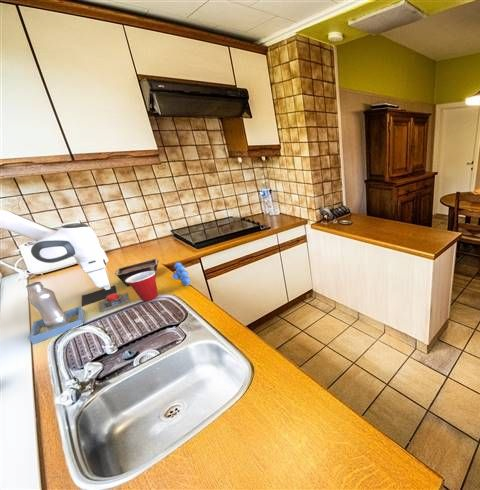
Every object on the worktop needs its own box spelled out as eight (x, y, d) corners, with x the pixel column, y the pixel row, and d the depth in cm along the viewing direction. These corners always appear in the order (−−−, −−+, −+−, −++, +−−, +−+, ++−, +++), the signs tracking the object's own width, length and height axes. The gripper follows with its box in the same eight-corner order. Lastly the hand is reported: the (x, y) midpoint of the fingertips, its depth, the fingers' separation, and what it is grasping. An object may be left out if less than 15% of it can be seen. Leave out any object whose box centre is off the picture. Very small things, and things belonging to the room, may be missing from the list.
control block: (101, 313, 114) (97, 307, 112) (100, 304, 119) (97, 299, 118) (130, 302, 120) (128, 296, 119) (128, 295, 126) (126, 289, 125)
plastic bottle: (54, 324, 108) (26, 282, 100) (75, 319, 110) (50, 278, 102) (44, 334, 102) (14, 291, 94) (67, 328, 105) (40, 285, 97)
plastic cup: (161, 288, 130) (152, 267, 125) (167, 296, 123) (157, 274, 118) (133, 298, 122) (122, 276, 118) (137, 307, 116) (126, 284, 111)
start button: (107, 302, 116) (106, 298, 116) (107, 298, 119) (105, 295, 118) (118, 298, 119) (116, 295, 118) (118, 295, 121) (116, 292, 120)
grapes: (172, 284, 133) (163, 263, 128) (187, 278, 138) (179, 258, 133) (180, 291, 126) (171, 269, 121) (195, 285, 131) (187, 264, 126)
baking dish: (127, 280, 143) (115, 265, 138) (165, 266, 151) (155, 251, 146) (124, 293, 133) (111, 278, 128) (164, 277, 140) (154, 262, 135)
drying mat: (82, 306, 119) (81, 305, 118) (82, 296, 127) (81, 295, 126) (117, 295, 126) (116, 294, 126) (115, 286, 134) (114, 285, 134)
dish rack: (33, 344, 97) (28, 338, 96) (37, 327, 106) (33, 321, 105) (84, 325, 106) (80, 319, 105) (84, 311, 115) (81, 305, 114)
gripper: (83, 256, 116) (97, 283, 121) (82, 270, 102) (99, 300, 108) (102, 251, 120) (115, 277, 125) (104, 264, 106) (119, 293, 112)
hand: (108, 288), depth 117 cm, fingers closed
